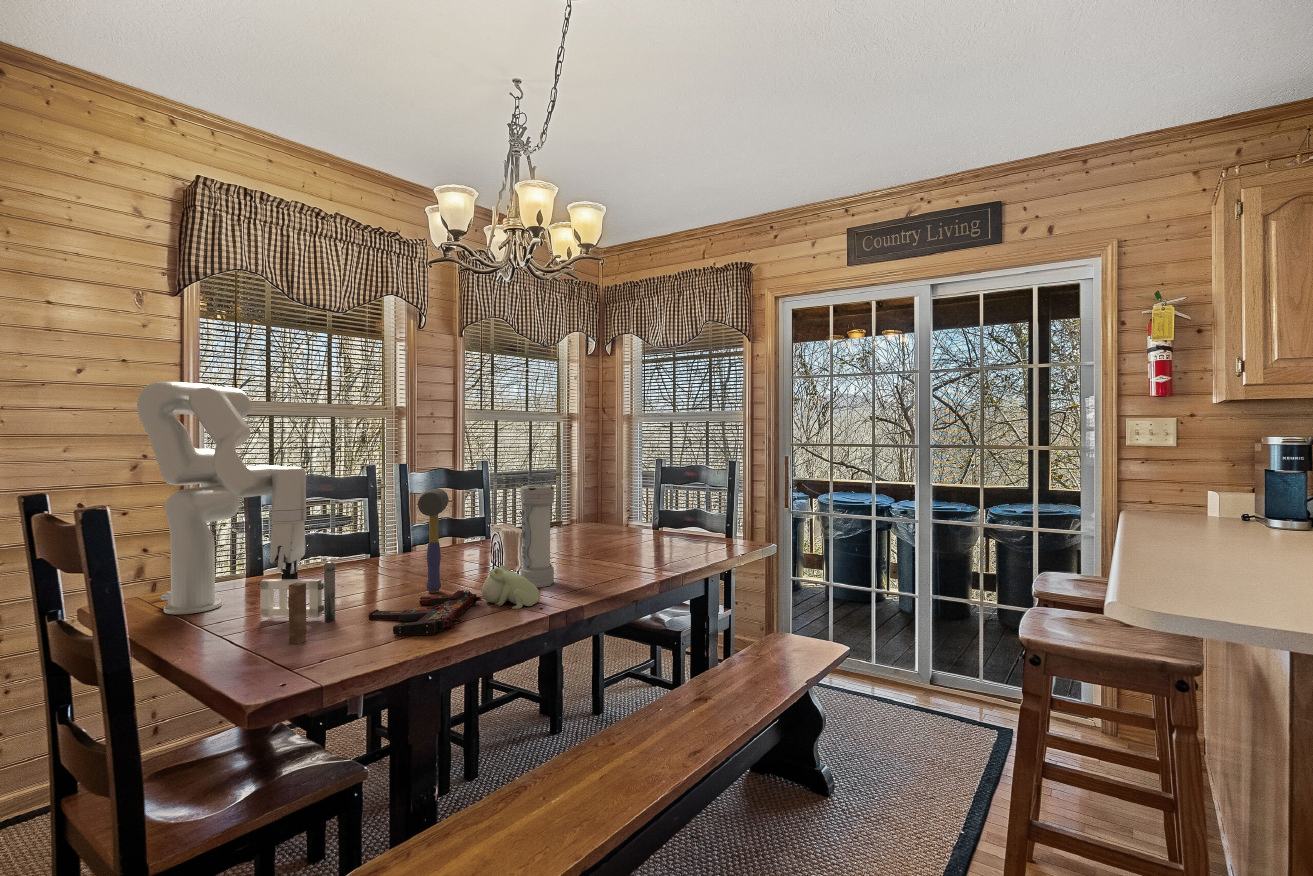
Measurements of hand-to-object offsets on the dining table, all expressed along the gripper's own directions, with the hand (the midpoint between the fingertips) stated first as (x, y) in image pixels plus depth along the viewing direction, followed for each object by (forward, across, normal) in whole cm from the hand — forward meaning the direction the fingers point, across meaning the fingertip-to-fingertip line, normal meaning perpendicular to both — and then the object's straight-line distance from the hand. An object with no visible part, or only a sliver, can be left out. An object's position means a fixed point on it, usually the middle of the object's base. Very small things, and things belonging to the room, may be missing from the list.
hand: (289, 588), depth 168 cm
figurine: (+8, -8, +54) cm, 55 cm away
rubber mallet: (+7, -22, +31) cm, 38 cm away
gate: (+6, +3, +2) cm, 7 cm away
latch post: (+7, +21, +10) cm, 24 cm away
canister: (+7, -29, +60) cm, 67 cm away
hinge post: (+7, +4, +11) cm, 14 cm away
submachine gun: (+8, +2, +33) cm, 34 cm away
